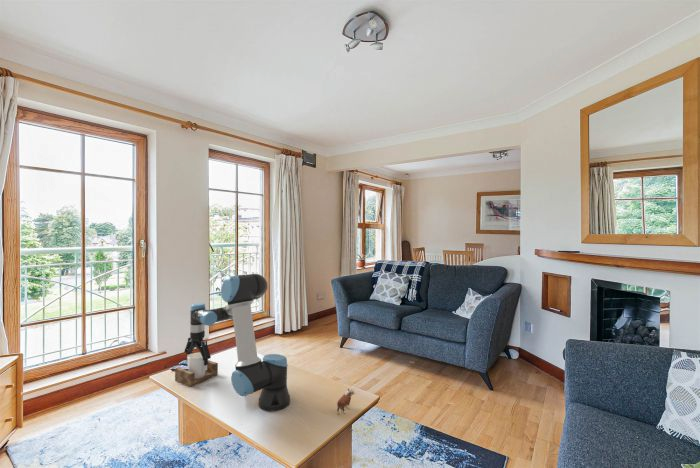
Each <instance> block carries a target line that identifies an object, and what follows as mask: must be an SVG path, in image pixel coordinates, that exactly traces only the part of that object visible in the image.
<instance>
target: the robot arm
mask: <svg viewBox="0 0 700 468" xmlns="http://www.w3.org/2000/svg"><path fill="white" fill-rule="evenodd" d="M268 288H269V285H268V281H267V279H266V278H265V277H264V276H263V275H261V274H259V273H250V274H238V275H237V274H236V275H231V276H227V277H226V278H225V279H224V280H223V282H222V284H221V289H220V295H221V298H222V301H223V302H225V303H227V305H225V306H223V307H218V308H217V307H216V308H211V309H206V304H205V303H203V302H197V303H193V304H191V305H190V310H189V311H190V312H189V313H190V321H189V322H190V324H189V325H190V327H189V331H190V332H189V333H190V334H189V335H190V336H189V337H188V338H187V343H186V345H185V348H184V350H183V352H184V353H185V354H186V366H187V367H188V356H189V355H190V354H193V351H194V349H195V348H196V349H197V350H199V352H200V353H201V355H202V357H203V360H202V372H204V371H206V370H207V365H208V360H209V359H211V357H212V356H211V354H210V350H209V346H208V341H207V340H204V338H205V336H206V335H205V334H206V333H205V332H206V330H205V329H206V326H207V327H208V326H209V327H210V326H213V325H214V324H216V323H218V322H224V321H229V320H232V321H233V322H232V324H233V329H234V330H233V331H234V338H235V344H236V354H237V362H236V363H235V365H234V366H235V367H234V368H235V369H234V370H233V371H232V373H231V377H230V380H231V385H232V387H233V389H234V391H235V392H236V394H238V395H239V396H241V397H246V396H249V395H252V394H254V393H256V392H258V391H261V392H260V395H259V398H258V407H259V408H260V409H261V410H263V411H265V412H278V411H280V410H283V409H285V408H287V407H288V406H289V405H290V403H291V396H290V394H289V389H288V386H287V385H288V384H287V383H288V381H287V380H288V360H287V357H286V356H285V355H282V354H278V353H270V354H266V355H264V356H263V357H262V359H261V358H260V357H259V356H258V351H257V345H256V344H257V343H256V336H255V335H256V334H255V329H254V322H253V313H252V307H251V305H252V304H253V302H254V300H259V299H260V298H262V297H263V296H264V295H265V294H266V293H267V291H268Z"/></svg>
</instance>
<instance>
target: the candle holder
mask: <svg viewBox="0 0 700 468" xmlns="http://www.w3.org/2000/svg"><path fill="white" fill-rule="evenodd" d="M202 360H203V357H202V355H201V353H200V351H199V352H194V353H193V352H192V354H191V353H190V355H189V356H188V366H187V367H188V371H190V372H193V373H194V380H195V379H200V378H203V377H204V376H205V371H204V372H202Z"/></svg>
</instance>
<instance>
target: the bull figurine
mask: <svg viewBox="0 0 700 468" xmlns="http://www.w3.org/2000/svg"><path fill="white" fill-rule="evenodd" d="M353 395H356V392H355V391H354V390H353V389H352V388H350V389H349V388H347V390H346V392H345V393H344V394H342V396H341V397H340V398H339V399H338V401H337V402H336V403H337V409H336V413H337V412H339V411H340V410H341V414H343V412H344V411H345V408H346V407H348V406H349V407H350V403H351V399H352V396H353ZM345 406H346V407H345ZM339 413H340V412H339Z"/></svg>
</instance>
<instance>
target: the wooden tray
mask: <svg viewBox="0 0 700 468" xmlns="http://www.w3.org/2000/svg"><path fill="white" fill-rule="evenodd" d="M218 368H219V363H217V362H216V361H211V360H209V359H208V365H207V370H206V371H205V376H204V377H203V378H200V379H195V380H194V373H193V372H190V371H189V369H188V370H187V369H185V368H182V367H179V366H177V367H175V368H174V369H175V370H174V371H175V372H174V382H176V383H179V384H182V385H184V386H187V387H188V388H192V387H194V386H197V385H199V384H202V383H203V382H205V381H208V380H210V379H213V378H215V377H217V376H219V375H218V372H219V371H218V370H219V369H218Z"/></svg>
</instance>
